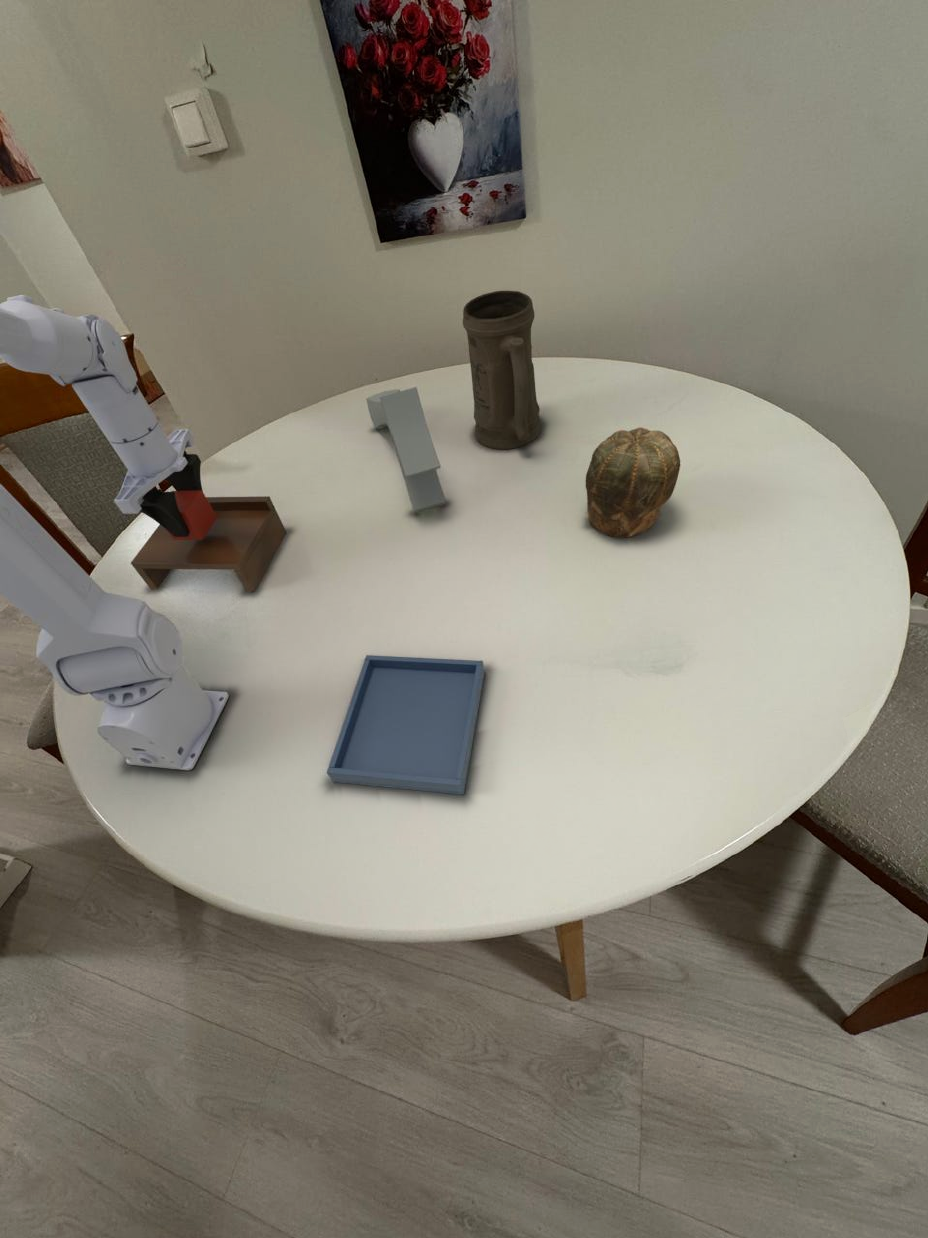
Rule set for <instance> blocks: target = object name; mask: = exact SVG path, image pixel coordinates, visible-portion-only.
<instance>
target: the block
mask: <svg viewBox="0 0 928 1238" xmlns="http://www.w3.org/2000/svg"><path fill="white" fill-rule="evenodd" d="M202 490H203V489H202ZM202 490H199V491H176V490H171V491H170V492H175V498H176V503H177V506H178V509H179V512H180V514H181V516H182V518H183V519H184V521H185V523H186V525H187V527H188V530H189V533H190V534H189V535H188V536H187V537H174V536H173V535H172V534H171V533H170V532H168V531H167V532H168V533H169V535H170V536H171V538H172V539H173V540H203V539H204V537H205V536H206V534H207V533H208V531H209V530H210V528H211V527H212V525H213V524H214V522H215V521H216V519H217V516H216V514H215V512H214V511H213V509H212V507H211V505H210V504H209V502H208V500H207V498H206V497H207V496H206V495H205V493H204V492H203V491H204V490H203V491H202Z"/></svg>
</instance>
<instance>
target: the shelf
mask: <svg viewBox="0 0 928 1238" xmlns="http://www.w3.org/2000/svg"><path fill="white" fill-rule="evenodd" d="M205 497H206V498H207V500H208V502H209V504H210V505H211V507H212V509H213V511H214V512H215V514H216V516H217V519H216V521H215V522H214V524H213V525H212V527H211V528H210V530H209V531H208V533H207V534H206V536H205V537H204V539H203V540H173V539H172V538H171V536H170V535H169V533H168V532H167V530H166V529H165V528H164V527H163V526H161V525H160V524H159V525H158V526H157V528H156V529H155V530H154V531H153V533H152V534H151V535H150V536H149V538H148V539H147V540H146V542H145V543H144V544H143V546H142V547H141V548H140V549H139V551H138V552H137V554H136V555H135V556H134V558H133V559H132V560H131V561H130V565H131V566H132V567H133V568H134V570H135V571H136V572H137V574H138V575H139V576H140V578H141V579H142V580H143V581H144V583H145V584H146V585H147V587H148V588H149V589H150V590H159V588H160V587H161V585H162V584H163V583H164V581H166V579H167V577H168V575H170V572H171V571H172V570H205V571H207V570H209V571H210V570H213V571H214V570H215V571H216V570H217V571H218V570H219V571H221V570H222V571H234V573H235V575H236V576H237V578H238V580H239V581H240V583H241V585H242V587H243V588H244V590H245V592H249V593H251V592H252V593H255V592H256V590H257V588H258V586H259V585H260V583H261V581H262V579H263V576H264V575H265V574H266V571H267V569H268V568H269V566H270V564H271V562H272V560H273V558H274V556H275V555H276V552H277V551H278V549H279V547H280V545H281V544H282V542H283V540H284V538H285V536H286V534H287V530H286V527H285V526H284V523H283V522H282V520H281V518H280V516H279V513H278V511H277V509H276V507H275V505H274V503H273V501H272V499H271V497H270V496H269V495H268V496H262V495H261V496H205Z"/></svg>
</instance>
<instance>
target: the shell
mask: <svg viewBox="0 0 928 1238" xmlns="http://www.w3.org/2000/svg"><path fill="white" fill-rule="evenodd" d="M680 469H681V457H680V454H679V450H678V448H677V446H676V445H675V444H674V443H673V441H672V439H671V438H670V436H669V435H667V434H666V433H665V432H664V431H661V430H649V429H647V428H645V427H637V428H634V429H631V430H622V429H620V430H617V431H615V432H613V433H612V434H611V435H609V436H608V437H606V439H605V440H603V441H601V442H600V443H599V445H598V446H597V447H596V448H595V449H594V451H593V452H592V455H591V460H590V462H589V465H588V468H587V471H586V474H585V490H586V498H587V499H586V500H587V501H586V503H587V505H586V506H587V514H588V515H587V516H588V521H589V524H590V526H591V527H593V528H594V529H595V530H597V531H599V532H601V533H602V534H604V535H607V536H609V537H612V538H613V537H614V538H617V539H619V538H621V539H622V538H623V539H624V538H629V537H632V536H636V535H640V534H644V532H646V531H648V530H649V529H650V528H651V527H652V526H653V525H654V524H655V522H656V521H657V519H658V517H659V514H660V511H661V508H662V506H663V505H664V504H665V503H667V502H668V500H670V498H671V497H672V496H673V494H674V490H675V488H676V485H677V481H678V479H679V478H678V477H679V474H680Z"/></svg>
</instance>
